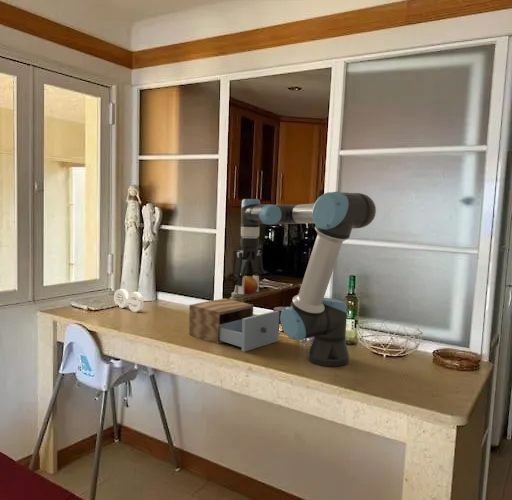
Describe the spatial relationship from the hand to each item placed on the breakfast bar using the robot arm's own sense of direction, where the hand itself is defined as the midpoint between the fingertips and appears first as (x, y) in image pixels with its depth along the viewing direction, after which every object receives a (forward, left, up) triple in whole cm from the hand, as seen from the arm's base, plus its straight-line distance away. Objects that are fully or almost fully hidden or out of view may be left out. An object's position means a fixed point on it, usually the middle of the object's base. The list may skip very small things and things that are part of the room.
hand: (248, 292), depth 196 cm
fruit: (0, 0, 0) cm, 0 cm away
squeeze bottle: (+26, -20, -21) cm, 39 cm away
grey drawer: (0, 0, -21) cm, 21 cm away
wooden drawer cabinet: (+16, 0, -21) cm, 26 cm away
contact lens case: (+82, +3, -21) cm, 85 cm away
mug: (+2, -24, -21) cm, 32 cm away
